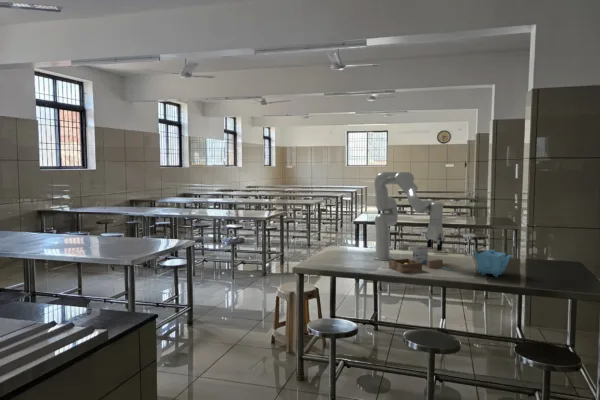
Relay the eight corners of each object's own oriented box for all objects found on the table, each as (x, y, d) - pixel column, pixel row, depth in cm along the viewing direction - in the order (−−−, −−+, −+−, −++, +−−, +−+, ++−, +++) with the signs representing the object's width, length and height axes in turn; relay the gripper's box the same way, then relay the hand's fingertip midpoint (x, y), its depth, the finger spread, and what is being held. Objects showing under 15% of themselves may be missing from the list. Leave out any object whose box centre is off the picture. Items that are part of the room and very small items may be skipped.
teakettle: (497, 270, 285) (498, 247, 284) (514, 278, 266) (515, 252, 265) (468, 271, 283) (469, 247, 282) (483, 278, 264) (484, 253, 263)
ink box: (423, 262, 308) (424, 245, 307) (427, 264, 303) (428, 246, 302) (412, 263, 306) (412, 245, 305) (416, 264, 301) (416, 246, 300)
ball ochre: (402, 268, 285) (402, 262, 285) (406, 267, 287) (407, 262, 286) (405, 269, 282) (405, 263, 282) (410, 268, 283) (410, 263, 283)
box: (389, 269, 285) (389, 260, 284) (407, 268, 290) (408, 258, 290) (402, 274, 272) (402, 264, 271) (421, 272, 277) (422, 263, 277)
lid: (416, 267, 294) (416, 258, 293) (436, 266, 300) (436, 257, 300) (432, 273, 279) (432, 263, 279) (453, 271, 285) (453, 261, 285)
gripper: (422, 220, 294) (420, 246, 296) (440, 224, 278) (438, 252, 280) (431, 219, 297) (430, 246, 298) (450, 223, 281) (448, 251, 282)
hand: (434, 249), depth 289 cm, fingers open, 9 cm apart
